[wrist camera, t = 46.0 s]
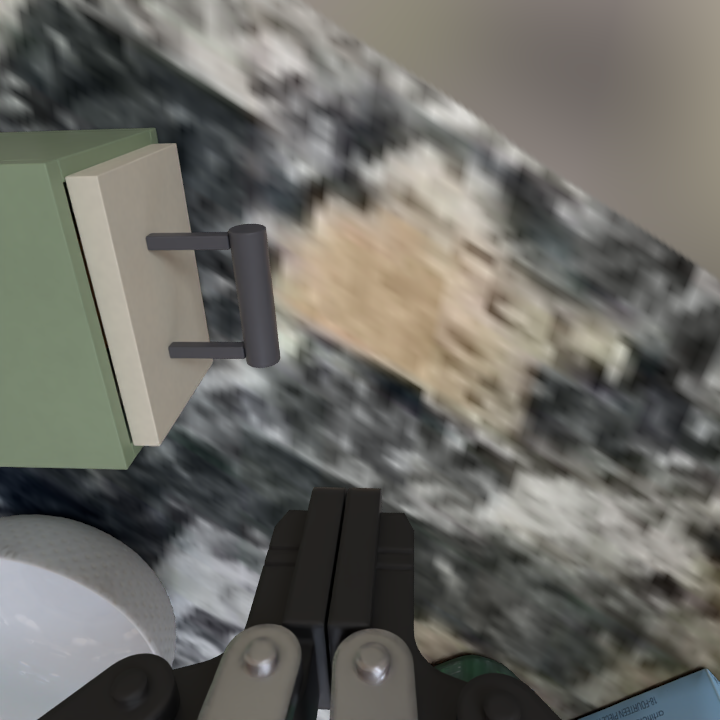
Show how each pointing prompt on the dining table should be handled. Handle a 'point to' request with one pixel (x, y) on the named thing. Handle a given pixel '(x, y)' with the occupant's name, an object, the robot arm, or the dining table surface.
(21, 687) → the cereal bowl
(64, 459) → the cabinet
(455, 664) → the coffee jar
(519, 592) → the dining table surface
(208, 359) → the drawer
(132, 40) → the dining table surface
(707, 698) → the gum box
